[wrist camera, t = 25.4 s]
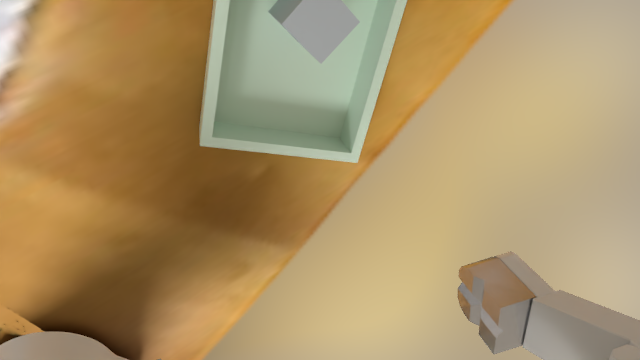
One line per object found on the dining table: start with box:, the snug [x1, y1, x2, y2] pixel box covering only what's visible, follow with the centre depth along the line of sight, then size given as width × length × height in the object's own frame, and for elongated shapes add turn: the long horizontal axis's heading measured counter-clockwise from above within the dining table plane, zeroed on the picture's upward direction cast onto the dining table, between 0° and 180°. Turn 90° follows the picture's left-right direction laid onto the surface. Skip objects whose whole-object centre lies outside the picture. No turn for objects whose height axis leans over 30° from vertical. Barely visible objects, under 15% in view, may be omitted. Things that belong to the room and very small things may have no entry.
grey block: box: [268, 0, 360, 64], centre depth 35 cm, size 4×4×7 cm
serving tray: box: [199, 0, 407, 163], centre depth 38 cm, size 18×16×5 cm
